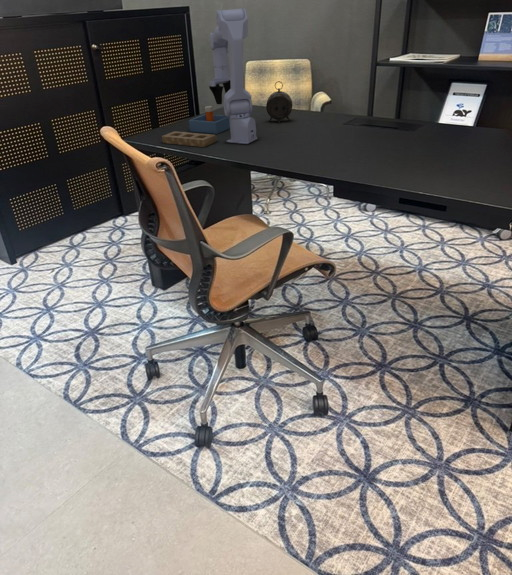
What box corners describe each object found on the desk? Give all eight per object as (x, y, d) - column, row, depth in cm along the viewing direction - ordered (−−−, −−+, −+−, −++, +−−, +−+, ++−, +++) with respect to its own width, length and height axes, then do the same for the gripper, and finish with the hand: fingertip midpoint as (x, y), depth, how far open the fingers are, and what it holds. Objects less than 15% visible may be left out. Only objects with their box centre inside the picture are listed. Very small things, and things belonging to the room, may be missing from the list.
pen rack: (216, 141, 193) (215, 134, 191) (204, 147, 187) (203, 140, 186) (175, 137, 202) (174, 131, 201) (162, 142, 196) (161, 136, 195)
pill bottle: (216, 127, 211) (214, 106, 206) (211, 129, 208) (209, 107, 204) (209, 126, 212) (207, 105, 208) (205, 128, 210) (203, 107, 205)
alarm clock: (292, 119, 217) (291, 79, 208) (292, 122, 212) (291, 81, 204) (267, 120, 218) (265, 80, 210) (266, 123, 213) (264, 83, 205)
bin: (232, 127, 212) (231, 115, 209) (216, 133, 203) (215, 122, 201) (205, 125, 218) (204, 114, 216) (189, 131, 209) (188, 120, 207)
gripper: (222, 63, 206) (225, 98, 213) (202, 69, 195) (206, 105, 202) (237, 63, 203) (239, 99, 210) (217, 69, 192) (220, 106, 199)
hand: (224, 102), depth 206 cm, fingers open, 7 cm apart
